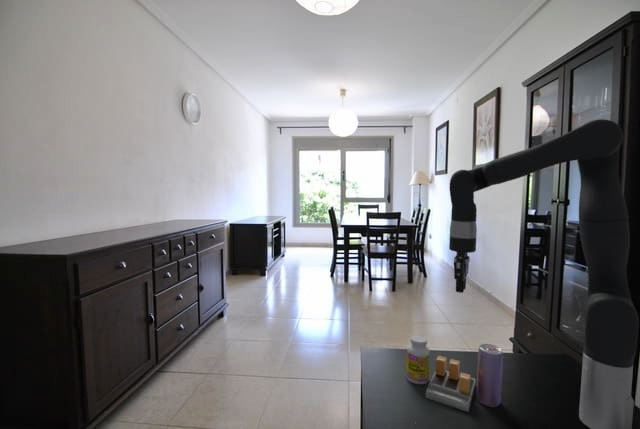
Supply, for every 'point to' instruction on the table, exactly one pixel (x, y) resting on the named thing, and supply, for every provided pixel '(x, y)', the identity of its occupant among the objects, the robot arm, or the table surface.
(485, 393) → the beverage can
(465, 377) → the tan upright block
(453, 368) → the paddle
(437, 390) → the tray
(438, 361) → the wooden block
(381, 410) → the table surface
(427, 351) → the supplement bottle
